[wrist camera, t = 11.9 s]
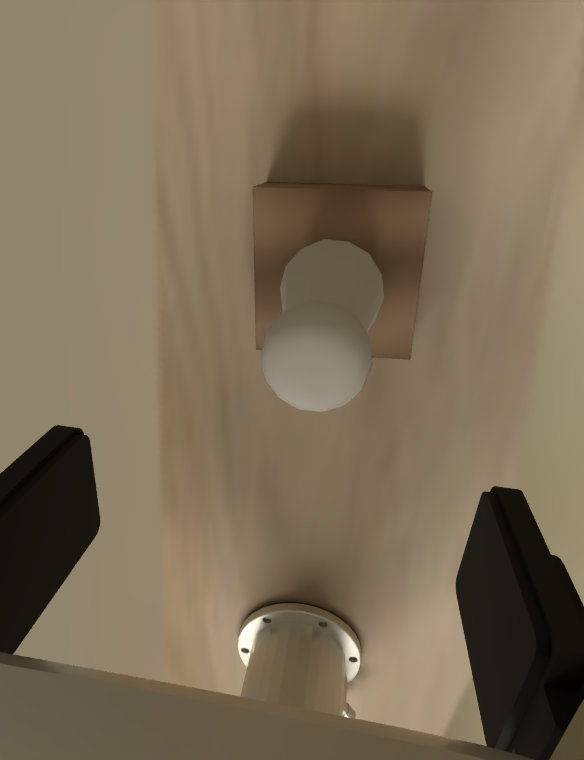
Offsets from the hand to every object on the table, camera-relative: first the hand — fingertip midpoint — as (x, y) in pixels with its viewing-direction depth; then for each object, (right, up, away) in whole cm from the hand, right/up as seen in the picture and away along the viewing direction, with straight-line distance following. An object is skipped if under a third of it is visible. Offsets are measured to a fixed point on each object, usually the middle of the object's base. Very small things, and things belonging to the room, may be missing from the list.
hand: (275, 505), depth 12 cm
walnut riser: (+4, +11, +21) cm, 24 cm away
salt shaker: (+3, +9, +18) cm, 21 cm away
